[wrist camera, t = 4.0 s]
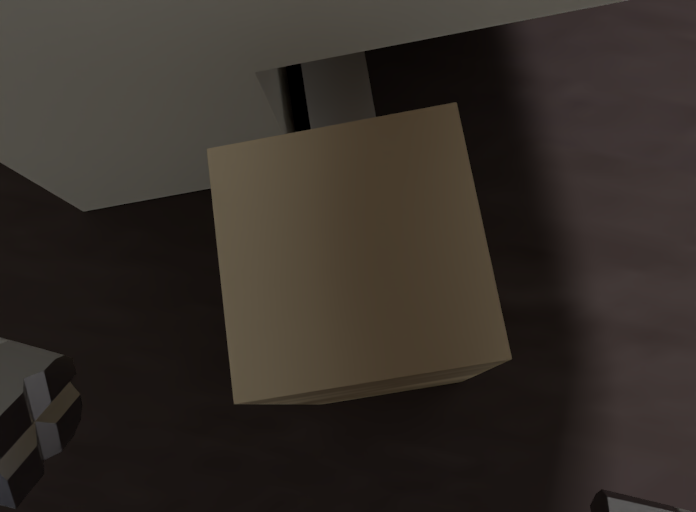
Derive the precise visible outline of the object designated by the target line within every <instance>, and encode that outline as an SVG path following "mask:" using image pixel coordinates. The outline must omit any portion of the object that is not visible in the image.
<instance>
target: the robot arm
mask: <svg viewBox="0 0 696 512" xmlns="http://www.w3.org/2000/svg"><path fill="white" fill-rule="evenodd" d="M75 375H76V370H75V366H74V362H73V358H70V357H68V356H65V355H62V354H59V353H55V352H51V351H48V350H44V349H41V348H37V347H34V346H30V345H27V344H23V343H19V342H16V341H12V340H8V339H4V338H0V505H3V506H7V507H10V508H14V509H16V508H17V507H18V506H19V505H20V503H21V502H22V501H23V500H24V498H25V497H26V496H27V495H28V493H29V492H30V491H31V490H32V488H33V487H34V486H35V485H36V483H37V482H38V481H39V480H40V478H41V477H42V476H43V475H44V460H45V459H47V458H49V457H51V456H53V455H55V454H57V453H60V452H62V451H63V449H64V448H65V447H66V446H67V444H68V443H69V442H70V440H71V439H72V438H73V436H74V434H75V431H76V429H77V427H78V424H79V422H80V420H81V412H82V401H81V395H80V393H79V392H78V391H77V390H76V389H75V387H74V386H73V385H72V384H71V383H70V381H71V380H72V378H73V377H74V376H75ZM590 509H591V512H692V511H688V510H684V509H680V508H674V507H673V506H670V505H665V504H661V503H657V502H653V501H649V500H645V499H640V498H636V497H632V496H628V495H624V494H619V493H615V492H611V491H607V490H603V489H601V490H600V491H599V492H598V493H596V495H595V497H594V499H593V501H592V503H591V505H590Z"/></svg>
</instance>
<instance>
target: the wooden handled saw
mask: <svg viewBox="0 0 696 512" xmlns="http://www.w3.org/2000/svg"><path fill="white" fill-rule="evenodd" d="M301 68H302V75H303V81H304V88H305V94H306V101H307V107H308V114H309V121H310V127H311V129H310V130H304V131H299V132H294V133H288V134H283V135H278V136H272V137H267V138H261V139H256V140H251V141H245V142H240V143H235V144H229V145H224V146H219V147H213V148H208V149H207V158H208V167H209V176H210V186H211V195H212V204H213V214H214V223H215V232H216V242H217V251H218V260H219V270H220V279H221V288H222V298H223V307H224V316H225V326H226V335H227V345H228V354H229V363H230V373H231V382H232V391H233V401H234V404H307V405H321V404H328V403H334V402H340V401H346V400H352V399H359V398H365V397H371V396H377V395H384V394H390V393H396V392H402V391H409V390H415V389H421V388H427V387H433V386H440V385H446V384H452V383H458V382H463V381H465V380H467V379H470V378H472V377H474V376H476V375H478V374H481V373H483V372H485V371H487V370H489V369H492V368H494V367H496V366H498V365H500V364H503V363H505V362H507V361H509V360H511V359H512V356H511V352H510V347H509V342H508V338H507V333H506V329H505V324H504V319H503V315H502V310H501V305H500V301H499V296H498V291H497V287H496V282H495V278H494V273H493V268H492V264H491V259H490V254H489V250H488V245H487V241H486V236H485V231H484V227H483V222H482V217H481V213H480V208H479V204H478V199H477V194H476V190H475V185H474V180H473V176H472V171H471V167H470V162H469V157H468V153H467V148H466V143H465V139H464V134H463V129H462V125H461V120H460V116H459V111H458V106H457V102H454V103H449V104H444V105H438V106H433V107H427V108H422V109H417V110H411V111H406V112H401V113H395V114H390V115H385V116H379V117H376V114H375V108H374V103H373V97H372V92H371V86H370V80H369V75H368V69H367V64H366V58H365V53H364V51H362V52H357V53H352V54H347V55H342V56H337V57H331V58H326V59H321V60H316V61H311V62H305V63H301Z"/></svg>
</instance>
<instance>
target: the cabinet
mask: <svg viewBox="0 0 696 512" xmlns="http://www.w3.org/2000/svg"><path fill="white" fill-rule="evenodd" d="M622 1H628V0H0V163H2V164H4V165H5V166H7V167H9V168H10V169H12V170H14V171H16V172H17V173H19V174H21V175H22V176H24V177H26V178H27V179H29V180H31V181H32V182H34V183H36V184H37V185H39V186H41V187H43V188H44V189H46V190H48V191H49V192H51V193H53V194H54V195H56V196H58V197H59V198H61V199H63V200H65V201H66V202H68V203H70V204H71V205H73V206H75V207H76V208H78V209H80V210H81V211H83V212H84V211H90V210H95V209H101V208H106V207H112V206H117V205H123V204H128V203H134V202H139V201H145V200H150V199H156V198H161V197H167V196H172V195H177V194H183V193H188V192H194V191H199V190H205V189H210V188H211V186H210V176H209V167H208V158H207V149H208V148H213V147H219V146H224V145H229V144H235V143H240V142H245V141H251V140H256V139H261V138H267V137H272V136H278V135H283V134H288V133H294V132H295V125H294V118H293V111H292V104H291V97H290V90H289V83H288V77H287V70H286V66H290V65H295V64H300V63H305V62H311V61H316V60H321V59H326V58H331V57H337V56H342V55H347V54H352V53H357V52H362V51H368V50H373V49H378V48H383V47H388V46H394V45H399V44H404V43H409V42H414V41H420V40H425V39H430V38H435V37H440V36H446V35H451V34H456V33H461V32H466V31H472V30H477V29H482V28H487V27H492V26H498V25H503V24H508V23H513V22H518V21H524V20H529V19H534V18H539V17H544V16H550V15H555V14H560V13H565V12H570V11H576V10H581V9H586V8H591V7H596V6H602V5H607V4H612V3H617V2H622Z"/></svg>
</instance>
